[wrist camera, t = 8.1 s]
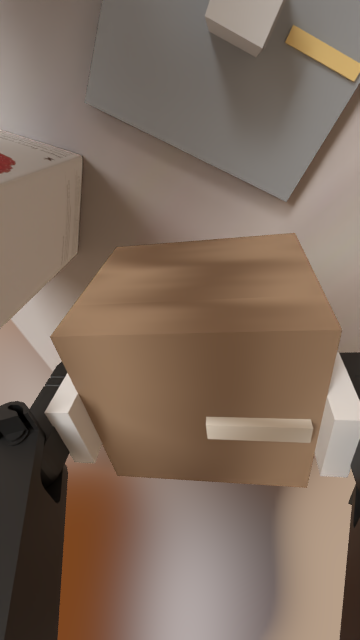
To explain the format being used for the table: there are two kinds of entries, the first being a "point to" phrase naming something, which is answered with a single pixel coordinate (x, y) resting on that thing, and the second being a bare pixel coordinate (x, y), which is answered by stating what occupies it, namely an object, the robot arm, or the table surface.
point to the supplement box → (35, 217)
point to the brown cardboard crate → (205, 359)
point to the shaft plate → (230, 78)
